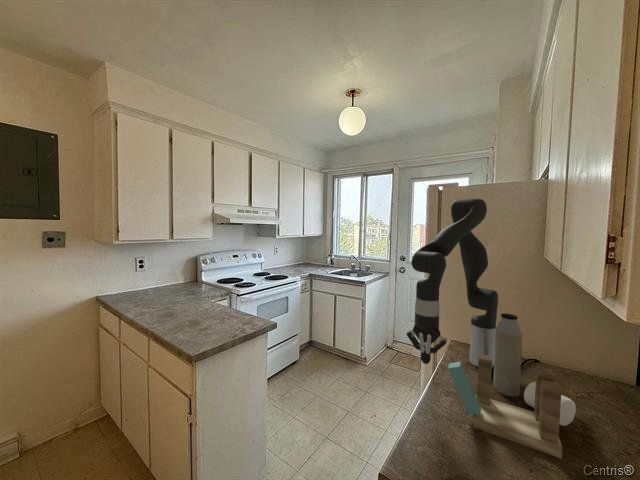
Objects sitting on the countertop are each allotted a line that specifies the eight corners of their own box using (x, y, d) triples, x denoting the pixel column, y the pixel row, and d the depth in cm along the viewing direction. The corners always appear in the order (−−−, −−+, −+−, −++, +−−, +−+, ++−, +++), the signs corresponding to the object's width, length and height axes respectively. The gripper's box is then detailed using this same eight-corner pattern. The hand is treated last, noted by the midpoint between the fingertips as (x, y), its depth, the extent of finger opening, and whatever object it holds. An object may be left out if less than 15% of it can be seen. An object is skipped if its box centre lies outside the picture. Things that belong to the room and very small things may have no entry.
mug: (556, 428, 79) (557, 402, 78) (522, 406, 88) (524, 383, 88) (584, 421, 82) (586, 396, 82) (549, 400, 92) (550, 378, 91)
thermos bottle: (519, 388, 98) (523, 314, 97) (519, 399, 92) (523, 320, 91) (493, 380, 103) (497, 310, 102) (492, 390, 97) (495, 315, 95)
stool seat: (474, 402, 90) (476, 352, 89) (551, 427, 79) (554, 369, 78) (472, 426, 79) (475, 369, 78) (561, 458, 68) (565, 392, 68)
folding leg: (467, 408, 84) (447, 363, 86) (481, 407, 81) (460, 361, 84) (466, 415, 80) (446, 368, 83) (481, 414, 78) (459, 366, 81)
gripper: (450, 312, 87) (448, 363, 88) (409, 305, 94) (408, 353, 95) (447, 319, 81) (445, 374, 82) (403, 311, 88) (402, 361, 89)
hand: (425, 362), depth 88 cm, fingers closed
